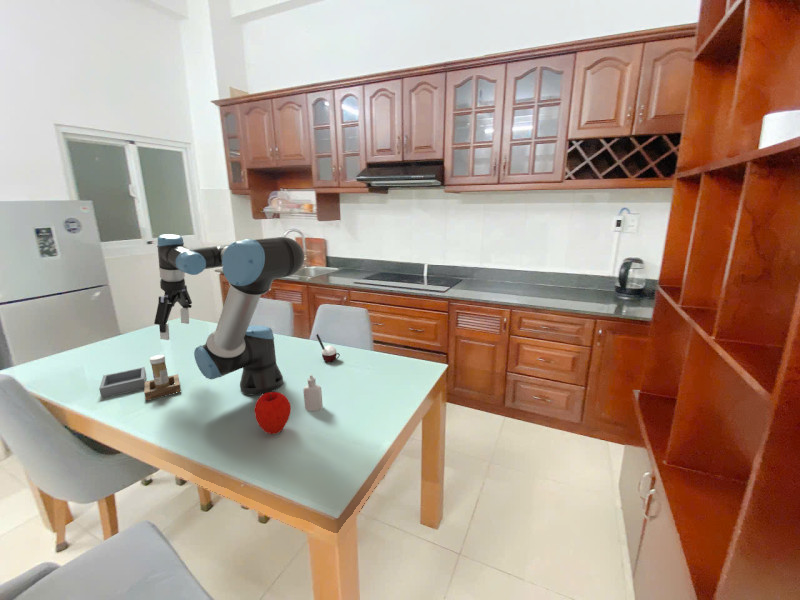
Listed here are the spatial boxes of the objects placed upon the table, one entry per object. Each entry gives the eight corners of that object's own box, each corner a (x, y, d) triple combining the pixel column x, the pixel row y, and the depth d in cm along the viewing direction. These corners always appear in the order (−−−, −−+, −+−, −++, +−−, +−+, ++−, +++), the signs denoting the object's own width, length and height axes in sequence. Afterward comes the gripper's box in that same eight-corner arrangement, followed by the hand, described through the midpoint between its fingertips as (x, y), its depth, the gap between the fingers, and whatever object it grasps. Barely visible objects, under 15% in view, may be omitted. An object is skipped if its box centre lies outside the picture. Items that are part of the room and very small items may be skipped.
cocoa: (341, 360, 156) (341, 334, 153) (332, 365, 151) (332, 338, 148) (324, 356, 160) (323, 330, 157) (315, 360, 155) (314, 334, 152)
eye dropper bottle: (312, 403, 120) (309, 370, 117) (324, 407, 117) (322, 374, 115) (303, 409, 117) (299, 375, 114) (315, 413, 114) (312, 379, 111)
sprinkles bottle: (153, 392, 130) (146, 358, 127) (165, 386, 134) (159, 353, 131) (161, 394, 128) (154, 360, 125) (173, 389, 132) (167, 355, 129)
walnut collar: (181, 392, 130) (179, 384, 129) (145, 400, 124) (144, 393, 123) (179, 381, 138) (178, 374, 138) (146, 389, 132) (144, 381, 132)
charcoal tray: (145, 387, 133) (143, 378, 132) (101, 398, 126) (99, 388, 125) (146, 375, 144) (144, 366, 143) (105, 384, 137) (103, 375, 136)
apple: (296, 420, 110) (292, 384, 107) (287, 440, 101) (283, 401, 98) (263, 421, 110) (259, 386, 107) (252, 441, 101) (246, 402, 98)
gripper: (180, 266, 138) (182, 315, 145) (138, 288, 115) (143, 345, 122) (200, 269, 138) (201, 318, 146) (162, 291, 115) (166, 348, 123)
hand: (175, 330), depth 134 cm, fingers open, 13 cm apart
